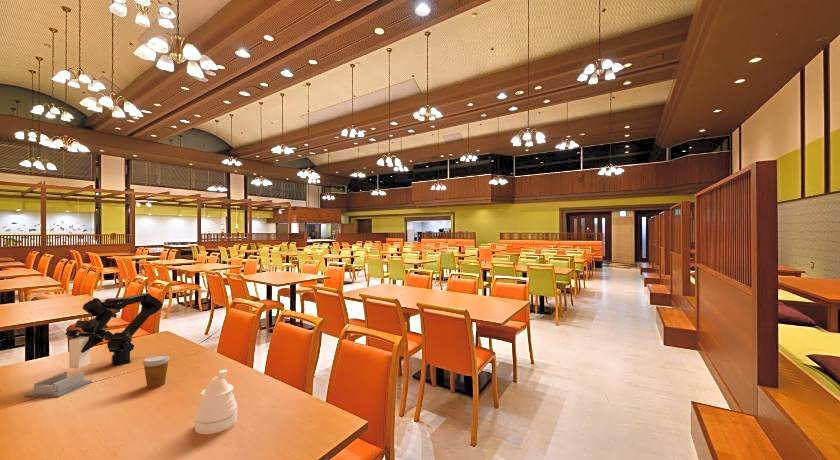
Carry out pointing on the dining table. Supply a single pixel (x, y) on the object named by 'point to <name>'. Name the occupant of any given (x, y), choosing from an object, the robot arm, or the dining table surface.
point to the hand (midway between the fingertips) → (76, 352)
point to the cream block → (78, 352)
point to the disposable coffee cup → (156, 370)
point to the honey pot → (216, 407)
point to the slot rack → (58, 385)
